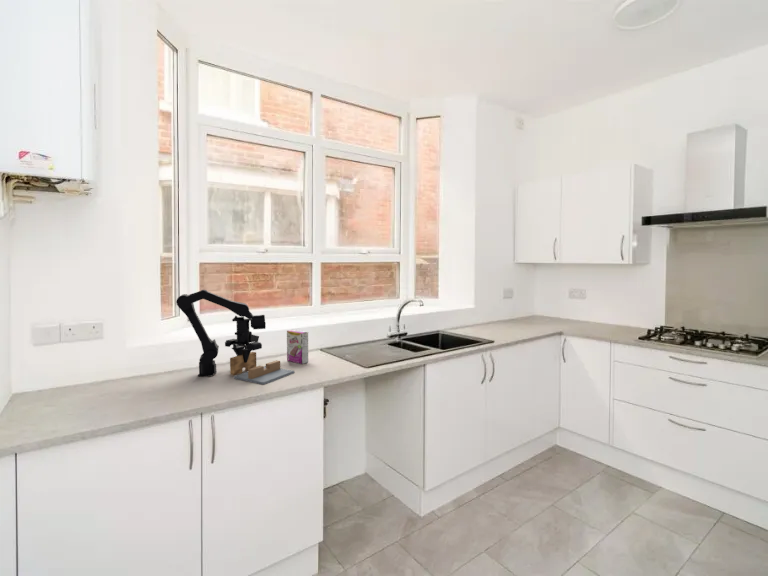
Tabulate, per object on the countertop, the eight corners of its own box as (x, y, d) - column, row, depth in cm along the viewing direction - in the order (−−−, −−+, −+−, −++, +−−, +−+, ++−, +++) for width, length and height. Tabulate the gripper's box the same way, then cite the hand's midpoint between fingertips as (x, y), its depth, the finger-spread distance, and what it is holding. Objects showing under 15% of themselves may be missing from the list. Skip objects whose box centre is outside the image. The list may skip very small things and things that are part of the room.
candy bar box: (286, 361, 212) (286, 330, 211) (293, 359, 216) (293, 329, 215) (302, 364, 206) (301, 332, 205) (308, 362, 210) (308, 331, 209)
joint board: (263, 384, 174) (263, 373, 173) (234, 378, 182) (233, 367, 181) (294, 372, 191) (294, 362, 191) (265, 367, 200) (265, 357, 199)
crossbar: (234, 375, 186) (233, 358, 185) (230, 374, 187) (230, 357, 187) (256, 368, 198) (256, 352, 198) (252, 367, 200) (252, 351, 199)
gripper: (269, 329, 194) (270, 360, 195) (241, 325, 203) (242, 356, 204) (252, 332, 184) (253, 366, 185) (223, 329, 193) (224, 361, 194)
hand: (243, 362), depth 192 cm, fingers closed on crossbar, 2 cm apart
